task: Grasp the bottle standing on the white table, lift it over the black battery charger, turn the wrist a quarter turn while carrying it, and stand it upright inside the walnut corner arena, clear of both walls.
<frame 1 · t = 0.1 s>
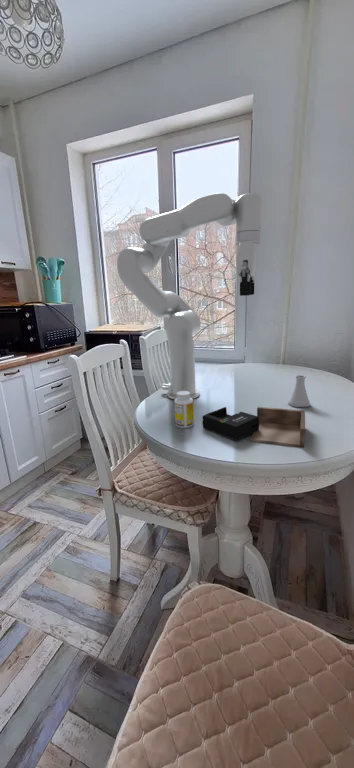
hand: (247, 295, 105), 37 cm above the table, tool pointing down, fingers open, 9 cm apart
supplement bottle: (184, 425, 96), on the table
battery charger: (230, 429, 91), on the table, touching corner arena
flask: (298, 404, 109), on the table
corner arena: (278, 433, 87), on the table
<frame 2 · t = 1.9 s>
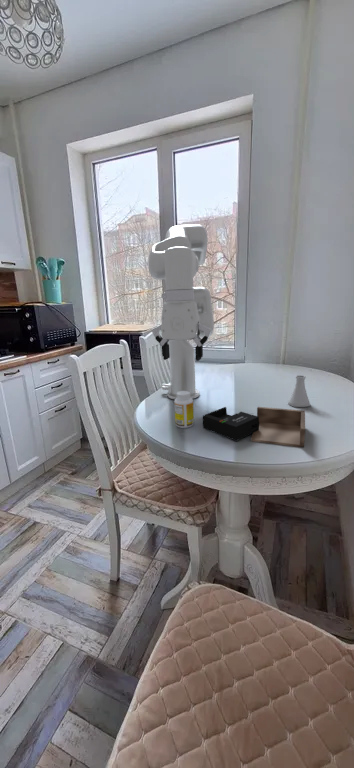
hand: (182, 359, 90), 20 cm above the table, tool pointing down, fingers open, 9 cm apart
nothing on the table moved.
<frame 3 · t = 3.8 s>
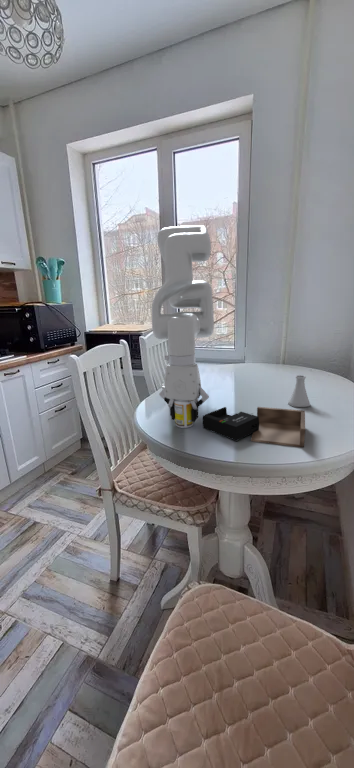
hand: (184, 418, 95), 2 cm above the table, tool pointing down, fingers closed on supplement bottle, 5 cm apart
supplement bottle: (184, 425, 96), on the table, touching gripper
everything else where it was.
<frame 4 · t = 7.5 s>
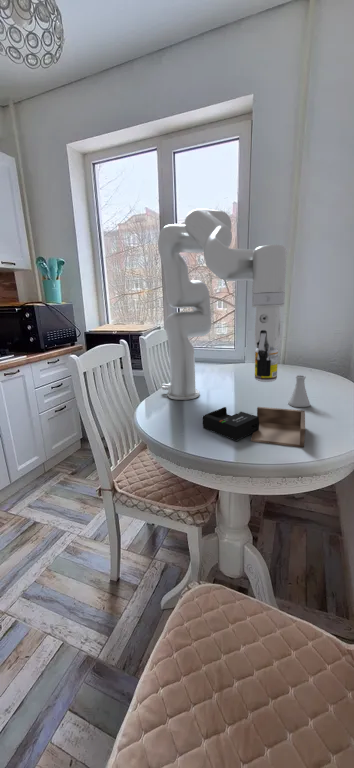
hand: (265, 372, 82), 18 cm above the table, tool pointing down, fingers closed on supplement bottle, 5 cm apart
supplement bottle: (265, 380, 83), point 16 cm above the table, touching gripper
everything else where it was.
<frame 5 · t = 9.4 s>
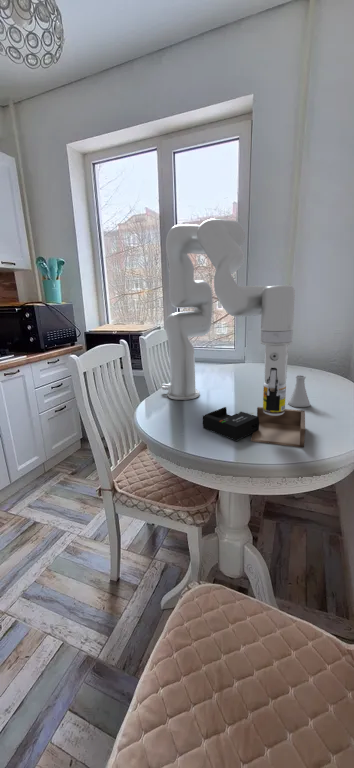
hand: (273, 405, 84), 9 cm above the table, tool pointing down, fingers closed on supplement bottle, 5 cm apart
supplement bottle: (273, 413, 84), point 7 cm above the table, touching gripper
everything else where it was.
when the fingers open (4 cm above the table, at t = 10.8 s): supplement bottle drops 1 cm, resting on corner arena.
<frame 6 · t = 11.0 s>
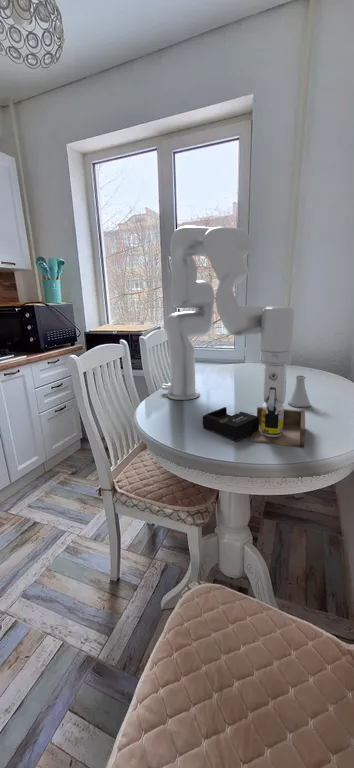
hand: (272, 421, 85), 4 cm above the table, tool pointing down, fingers open, 7 cm apart
supplement bottle: (271, 434, 86), resting on corner arena
everything else where it was.
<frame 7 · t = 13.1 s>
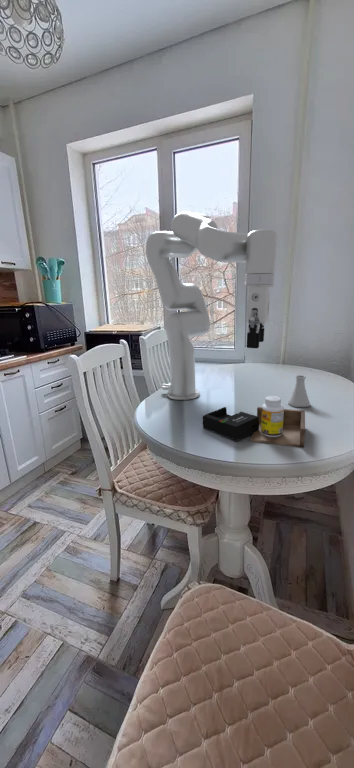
hand: (255, 344, 90), 23 cm above the table, tool pointing down, fingers open, 9 cm apart
nothing on the table moved.
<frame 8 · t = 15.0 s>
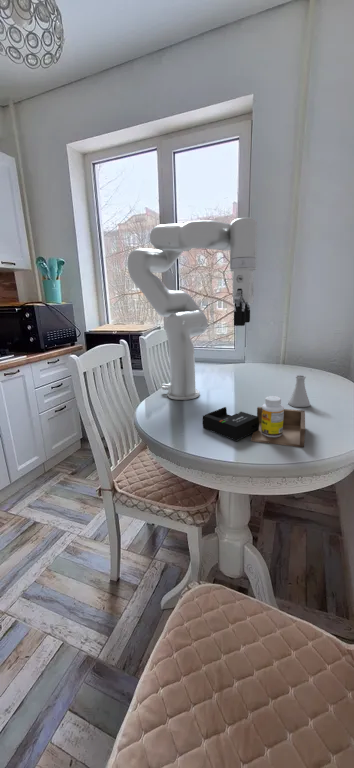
hand: (242, 323, 99), 28 cm above the table, tool pointing down, fingers open, 9 cm apart
nothing on the table moved.
at the end: supplement bottle inside the target area on the corner arena (0.4 cm from its centre), point 0.4 cm above the corner arena's base; supplement bottle tilted 0°; the gripper is holding nothing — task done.
